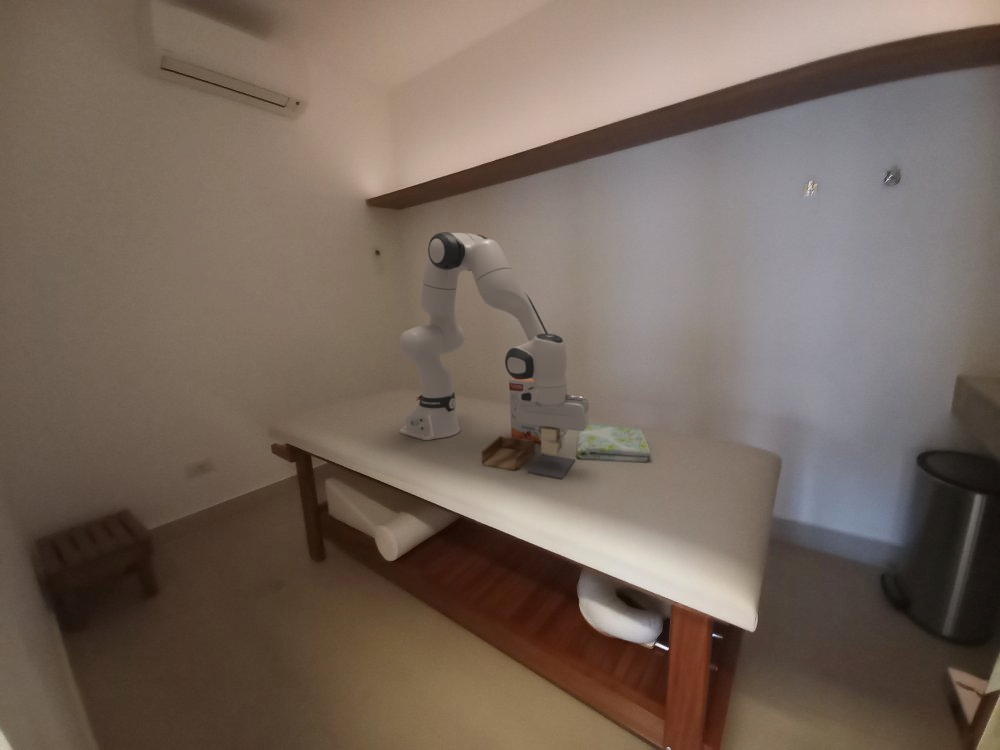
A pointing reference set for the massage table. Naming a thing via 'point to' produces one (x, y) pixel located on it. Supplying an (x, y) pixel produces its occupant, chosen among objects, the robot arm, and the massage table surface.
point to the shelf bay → (508, 453)
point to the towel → (612, 444)
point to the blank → (550, 440)
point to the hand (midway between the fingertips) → (551, 441)
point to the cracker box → (516, 428)
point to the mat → (551, 466)
